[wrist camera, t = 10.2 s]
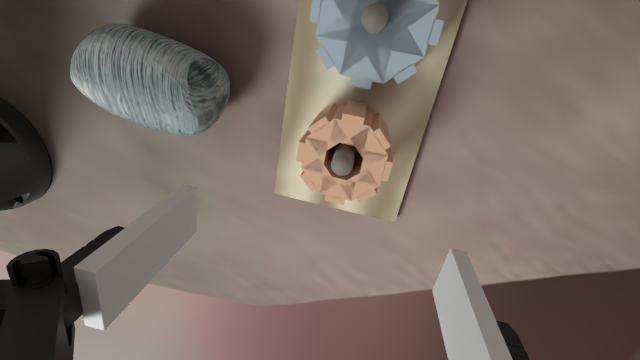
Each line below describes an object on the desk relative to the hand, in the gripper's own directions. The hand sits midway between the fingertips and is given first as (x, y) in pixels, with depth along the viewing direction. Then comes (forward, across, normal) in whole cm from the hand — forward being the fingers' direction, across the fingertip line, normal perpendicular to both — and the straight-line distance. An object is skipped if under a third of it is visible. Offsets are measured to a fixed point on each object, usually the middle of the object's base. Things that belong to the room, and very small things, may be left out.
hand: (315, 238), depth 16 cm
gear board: (+19, 0, +4) cm, 19 cm away
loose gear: (+18, 0, 0) cm, 18 cm away
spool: (+19, -19, +2) cm, 27 cm away
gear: (+18, 0, +11) cm, 21 cm away
